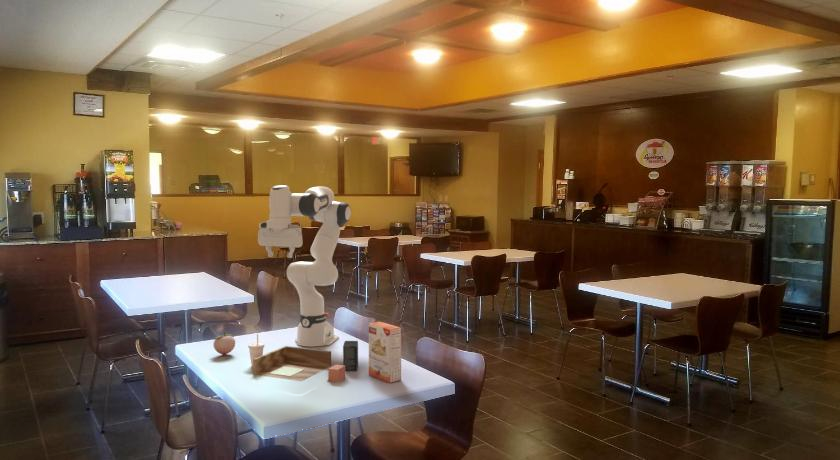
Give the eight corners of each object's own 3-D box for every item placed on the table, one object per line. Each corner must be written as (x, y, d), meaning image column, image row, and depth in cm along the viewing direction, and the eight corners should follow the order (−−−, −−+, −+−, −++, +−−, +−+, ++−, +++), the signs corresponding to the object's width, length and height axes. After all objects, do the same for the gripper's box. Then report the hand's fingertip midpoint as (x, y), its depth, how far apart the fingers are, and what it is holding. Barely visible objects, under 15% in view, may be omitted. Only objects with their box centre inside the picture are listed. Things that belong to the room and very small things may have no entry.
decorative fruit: (223, 359, 256) (223, 336, 255) (210, 356, 260) (210, 333, 259) (240, 354, 264) (239, 332, 263) (227, 351, 268) (226, 329, 267)
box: (344, 365, 247) (344, 340, 247) (358, 365, 248) (358, 340, 247) (342, 371, 239) (342, 345, 239) (357, 371, 240) (357, 345, 239)
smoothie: (260, 370, 240) (259, 336, 239) (245, 369, 241) (245, 335, 240) (267, 365, 246) (267, 332, 245) (253, 364, 247) (252, 331, 246)
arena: (285, 361, 253) (285, 345, 252) (331, 367, 245) (331, 351, 244) (253, 376, 232) (253, 359, 232) (301, 383, 224) (301, 365, 224)
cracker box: (367, 375, 235) (367, 322, 234) (380, 372, 239) (380, 320, 237) (389, 383, 224) (389, 329, 223) (401, 380, 228) (402, 326, 227)
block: (336, 377, 232) (336, 364, 232) (345, 378, 231) (345, 365, 231) (328, 381, 227) (328, 368, 226) (337, 382, 225) (337, 369, 225)
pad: (283, 366, 242) (283, 366, 242) (304, 369, 239) (304, 369, 239) (268, 373, 233) (268, 373, 233) (290, 376, 229) (290, 376, 229)
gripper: (305, 224, 247) (305, 257, 248) (264, 223, 255) (264, 255, 256) (297, 225, 242) (297, 259, 242) (255, 223, 249) (255, 256, 250)
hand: (280, 257), depth 249 cm, fingers open, 8 cm apart
